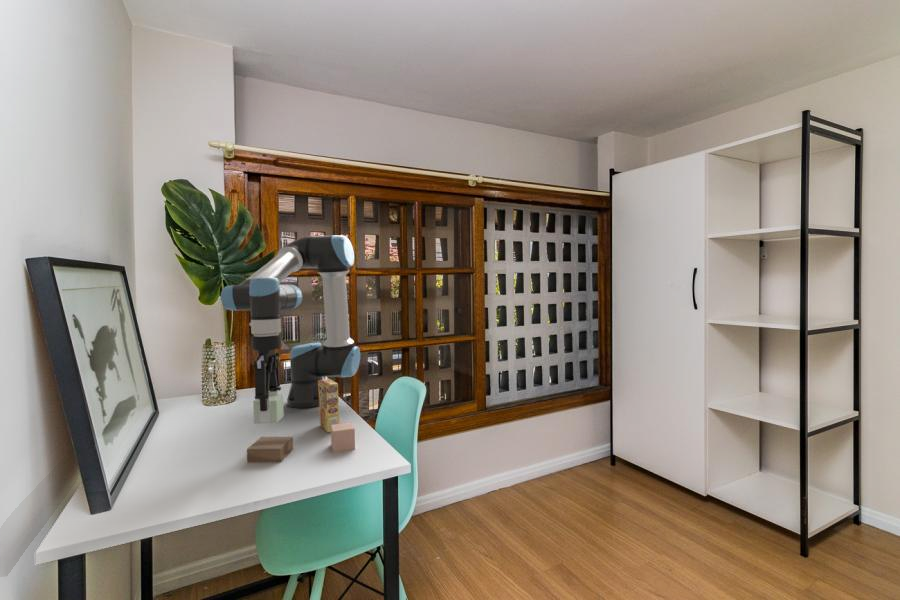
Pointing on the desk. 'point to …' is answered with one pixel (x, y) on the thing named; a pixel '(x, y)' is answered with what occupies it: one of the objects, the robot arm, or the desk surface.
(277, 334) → the robot arm
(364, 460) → the desk surface
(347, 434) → the terracotta cube
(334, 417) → the candy box
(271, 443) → the walnut plinth
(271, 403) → the green cube
